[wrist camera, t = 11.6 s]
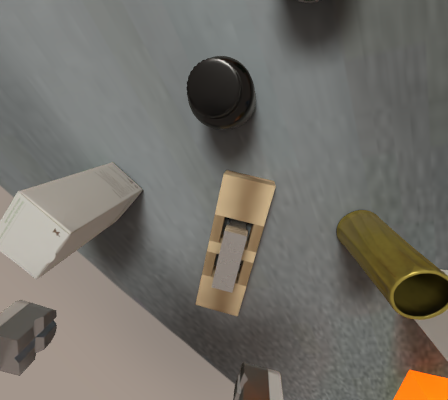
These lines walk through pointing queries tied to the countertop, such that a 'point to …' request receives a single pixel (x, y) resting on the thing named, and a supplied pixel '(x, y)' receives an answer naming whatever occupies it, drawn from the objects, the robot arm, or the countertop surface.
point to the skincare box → (63, 216)
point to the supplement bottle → (221, 93)
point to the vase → (394, 266)
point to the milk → (437, 329)
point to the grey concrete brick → (230, 255)
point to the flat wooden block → (256, 215)
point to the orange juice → (422, 387)
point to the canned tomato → (308, 1)
